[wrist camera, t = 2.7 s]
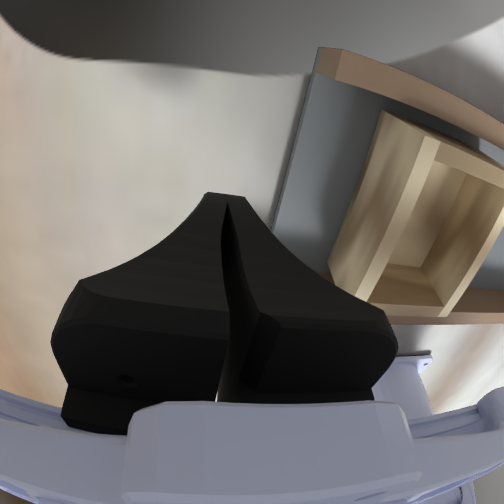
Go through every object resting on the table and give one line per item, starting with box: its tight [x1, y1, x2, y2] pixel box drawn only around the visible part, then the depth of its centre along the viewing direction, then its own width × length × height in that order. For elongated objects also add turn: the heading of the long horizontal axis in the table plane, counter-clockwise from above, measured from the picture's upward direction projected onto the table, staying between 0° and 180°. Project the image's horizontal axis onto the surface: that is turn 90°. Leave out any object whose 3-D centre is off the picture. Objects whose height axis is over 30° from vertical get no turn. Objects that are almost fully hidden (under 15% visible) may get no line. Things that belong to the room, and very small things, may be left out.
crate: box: [327, 110, 504, 317], centre depth 15 cm, size 9×7×4 cm
